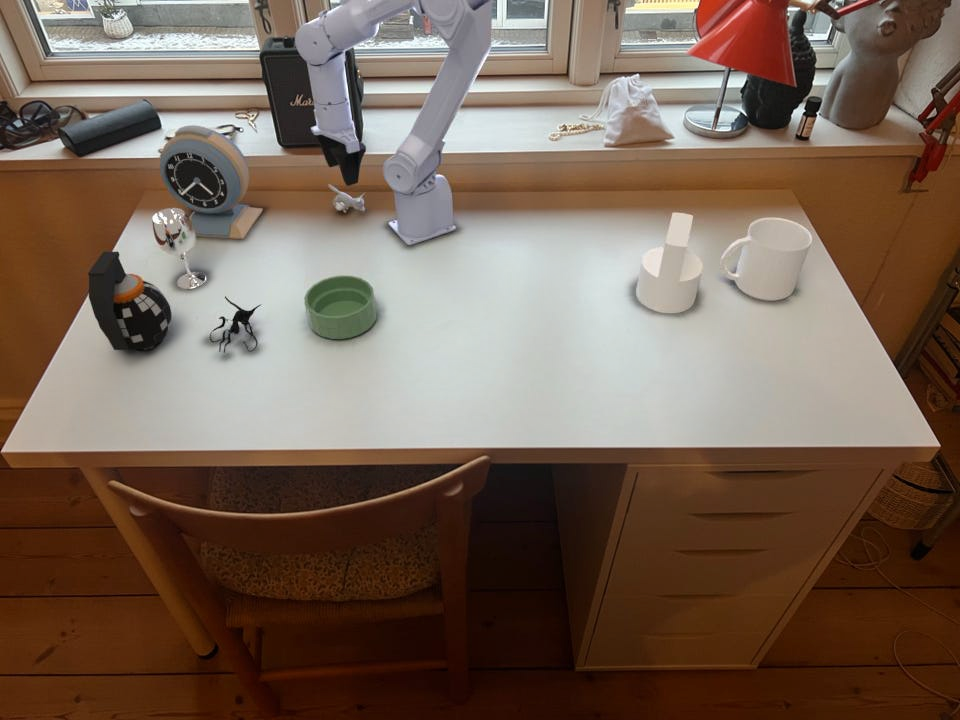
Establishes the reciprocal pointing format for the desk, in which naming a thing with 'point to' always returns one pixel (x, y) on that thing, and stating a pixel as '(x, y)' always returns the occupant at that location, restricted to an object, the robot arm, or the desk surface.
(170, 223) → the wineglass
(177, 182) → the alarm clock
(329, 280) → the bowl
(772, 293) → the mug
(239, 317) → the creature
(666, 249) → the cylinder with rectangular tab
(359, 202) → the dog figurine
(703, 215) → the desk surface
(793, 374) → the desk surface
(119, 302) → the grenade
